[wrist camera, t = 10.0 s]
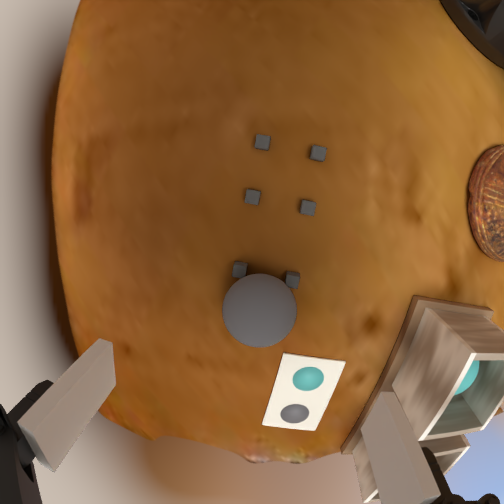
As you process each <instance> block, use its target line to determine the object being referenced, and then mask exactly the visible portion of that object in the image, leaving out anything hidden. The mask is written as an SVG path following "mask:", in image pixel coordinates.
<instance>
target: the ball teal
mask: <svg viewBox="0 0 504 504" xmlns="http://www.w3.org/2000/svg"><path fill="white" fill-rule="evenodd" d="M478 370H479V360H473V362H472V364H471V366H470V367H469V369H468V371H467V373H466V375H465V377H464V379H463V380H462V382H461V384H460V386H459V387H458V389H457V391H456V392H455V394H454V395H457V394H460V393H462V392H463V391H465V390H466V389H467V388H469V387H470V386H471V384H472V383H473V382H474V380H475V378H476V376H477V374H478Z"/></svg>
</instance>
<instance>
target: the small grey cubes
mask: <svg viewBox="0 0 504 504" xmlns="http://www.w3.org/2000/svg"><path fill="white" fill-rule="evenodd" d="M270 140H271V136H265V135H259V134H257V137H256V142H255V149H261V150H267V151H268V150H269V145H270ZM326 150H327V148H325V147H320V146H316V145H313V146H312V149H311V155H310V159H312V160H317V161H321V162H323V161H325V155H326ZM260 194H261V191H256V190H251V189H247V191H246V197H245V203H249V204H255V205H258V204H259V199H260ZM315 208H316V202H312V201H307V200H303V199H302V202H301V207H300V213H301V214H306V215H311V216H314V212H315ZM247 265H248V263H243V262H238V261H235V263H234V266H233V272H232V277H237V278H243V277H245V275H246V270H247ZM299 280H300V275H299V273H295V272H290V271H287V273H286V278H285V282H284V283H285V284H286V285H287V286H288V287H289V288H294V289H297V288H298V284H299Z"/></svg>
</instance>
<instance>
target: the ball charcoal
mask: <svg viewBox="0 0 504 504" xmlns="http://www.w3.org/2000/svg"><path fill="white" fill-rule="evenodd" d="M222 313H223V320H224V323H225V325H226V327H227V329H228V331H229V332H230V334H231V335H232V336H233V337H234V338H235V339H237V340H238V341H239V342H241V343H243V344H245V345H248V346H252V347H267V346H271V345H274V344H276V343H278V342H279V341H281V340H282V339H284V338H285V337H286V336H287V335H288V334H289V332H290V331H291V329H292V328H293V326H294V323H295V320H296V315H297V306H296V301H295V298H294V295H293V293H292V291H291V290H290V289H289V287H288V286H287V285H286V284H285V283H284V282H283V281H281V280H280V279H278V278H276V277H274V276H272V275H268V274H251V275H248V276H245V277H243V278H241V279H239V280H238V281H237V282H235V283H234V284H233V285H232V286H231V288H230V289H229V290H228V292H227V294H226V296H225V298H224V302H223V307H222Z"/></svg>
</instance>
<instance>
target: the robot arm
mask: <svg viewBox="0 0 504 504" xmlns="http://www.w3.org/2000/svg"><path fill="white" fill-rule="evenodd" d="M441 2H442V4H443V6H444V8H445V9H446V11H447V12H448V14H449V15H450V17H451V18H452V20H453V21H454V22H455V24H456V25H457V26H458V27H459V29H460V30H461V31H462V32H463V34H464V35H465V36H466V37H467V38H468V39H469V40H470V41H471V42H472V43H473V44H474V45H475V47H476V48H478V49H479V50H480V51H481V52H482V53H483V54H484V55H485V56H486V57H487V58H489V59H490V60H491V61H493V62H494V63H495V64H497V65H498V66H500V67H502V68H503V69H504V0H441ZM115 385H116V379H115V369H114V358H113V344H112V342H109V341H106V340H103V339H100V338H99V339H98V340H97V341H96V342H95V343H94V344H93V345H92V346H91V347H90V348H89V349H88V350H87V351H86V352H85V353H84V354H83V355H82V356H81V357H80V358H79V359H78V360H76V361H75V363H74V364H72V365H71V367H70V368H69V369H68V370H66V371H65V373H64V374H63V375H62V376H61V377H60V378H59V379H58V380H57V381H56V382H55V383H53V382H51V381H49V380H45V381H43V382H41V383H39V384H37V385H36V386H35V387H34V388H33V389H32V390H31V392H29V393H28V394H27V395H26V397H24V398H23V399H22V400H21V401H20V402H19V403H18V404H17V405H16V406H15V407H14V408H13V409H12V410H11V411H10V412H9V413H8V414H6V411H5V409H4V408H3V406H2V405H1V404H0V504H42V500H41V496H40V492H39V488H38V484H37V479H36V474H35V469H34V464H33V462H32V460H33V459H34V458H35V456H36V458H37V460H38V461H39V463H40V464H41V465H43V466H44V467H46V468H48V469H49V470H51V471H53V472H55V471H56V469H57V468H58V467H59V465H60V464H61V462H62V461H63V459H64V458H65V456H66V455H67V453H68V452H69V450H70V449H71V447H72V446H73V444H74V443H75V442H76V440H77V439H78V437H79V436H80V434H81V433H82V432H83V430H84V429H85V427H86V426H87V424H88V423H89V422H90V420H91V419H92V417H93V416H94V415H95V413H96V412H97V410H98V409H99V408H100V406H101V405H102V403H103V402H104V401H105V399H106V398H107V396H108V395H109V394H110V392H111V391H112V390H113V388H114V387H115ZM361 432H362V435H363V439H364V442H365V446H366V449H367V452H368V456H369V460H370V463H371V467H372V470H373V474H374V478H375V482H376V485H377V489H378V493H379V497H380V501H381V504H500V501H499V499H498V497H496V496H495V495H494V494H486V495H484V496H483V497H481V498H480V499H479V500H478V501H465V500H464V499H463V498H462V497H461V496H459V495H455V494H452V493H451V491H450V488H449V486H448V484H447V482H446V480H445V477H444V475H443V473H442V470H440V469H441V468H440V466H439V464H437V460H436V457H435V455H434V453H433V452H432V451H431V450H430V449H429V448H428V447H420V445H419V443H418V440H417V438H416V436H415V434H414V432H413V430H412V428H411V425H410V423H409V421H408V419H407V417H406V415H405V413H404V411H403V409H402V407H401V405H400V403H399V401H398V399H397V397H396V395H395V393H394V392H381V393H380V395H379V397H378V399H377V401H376V403H375V405H374V406H373V408H372V410H371V412H370V414H369V415H368V417H367V419H366V421H365V422H364V424H363V426H362V427H361Z"/></svg>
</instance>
